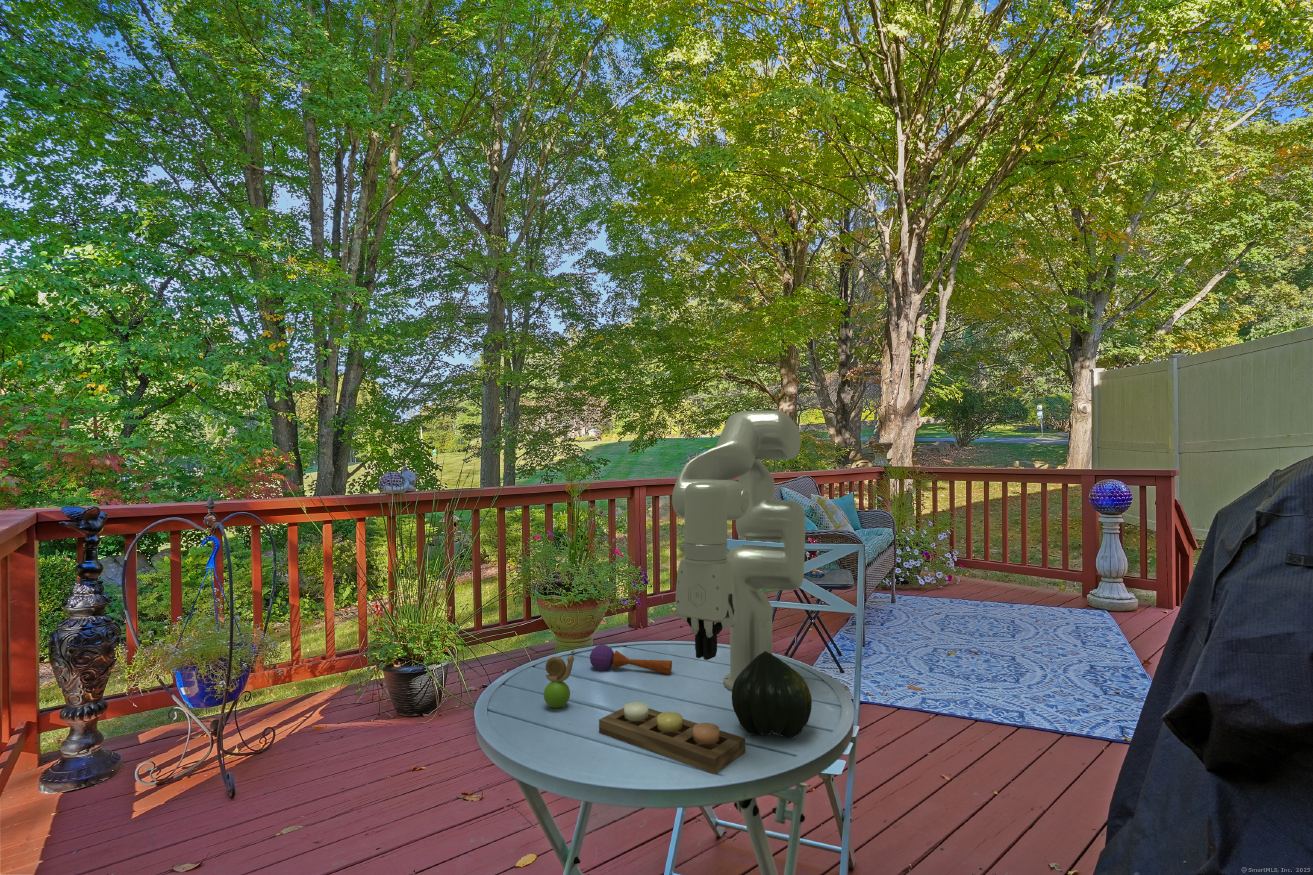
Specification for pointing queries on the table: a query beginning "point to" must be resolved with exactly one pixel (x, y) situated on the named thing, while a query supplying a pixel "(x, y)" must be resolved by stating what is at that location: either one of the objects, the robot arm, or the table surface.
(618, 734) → the button panel
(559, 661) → the snail figurine
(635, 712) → the cream button
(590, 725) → the table surface
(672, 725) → the mustard button
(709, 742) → the terracotta button
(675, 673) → the table surface
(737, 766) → the table surface
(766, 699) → the squash
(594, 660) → the purple and brown maraca
